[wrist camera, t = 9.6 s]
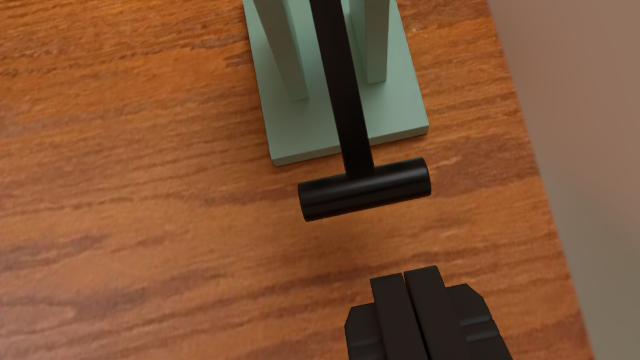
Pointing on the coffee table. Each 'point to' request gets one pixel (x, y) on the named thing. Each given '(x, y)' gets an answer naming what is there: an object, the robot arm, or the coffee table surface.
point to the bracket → (310, 83)
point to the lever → (353, 136)
